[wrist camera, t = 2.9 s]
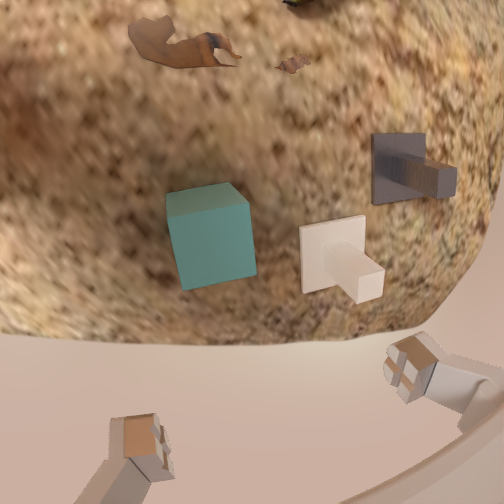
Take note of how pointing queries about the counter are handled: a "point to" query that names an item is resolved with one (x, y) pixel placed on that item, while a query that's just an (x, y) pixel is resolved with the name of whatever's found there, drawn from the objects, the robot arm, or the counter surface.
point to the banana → (191, 45)
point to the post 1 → (339, 259)
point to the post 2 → (407, 169)
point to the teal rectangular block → (210, 235)
